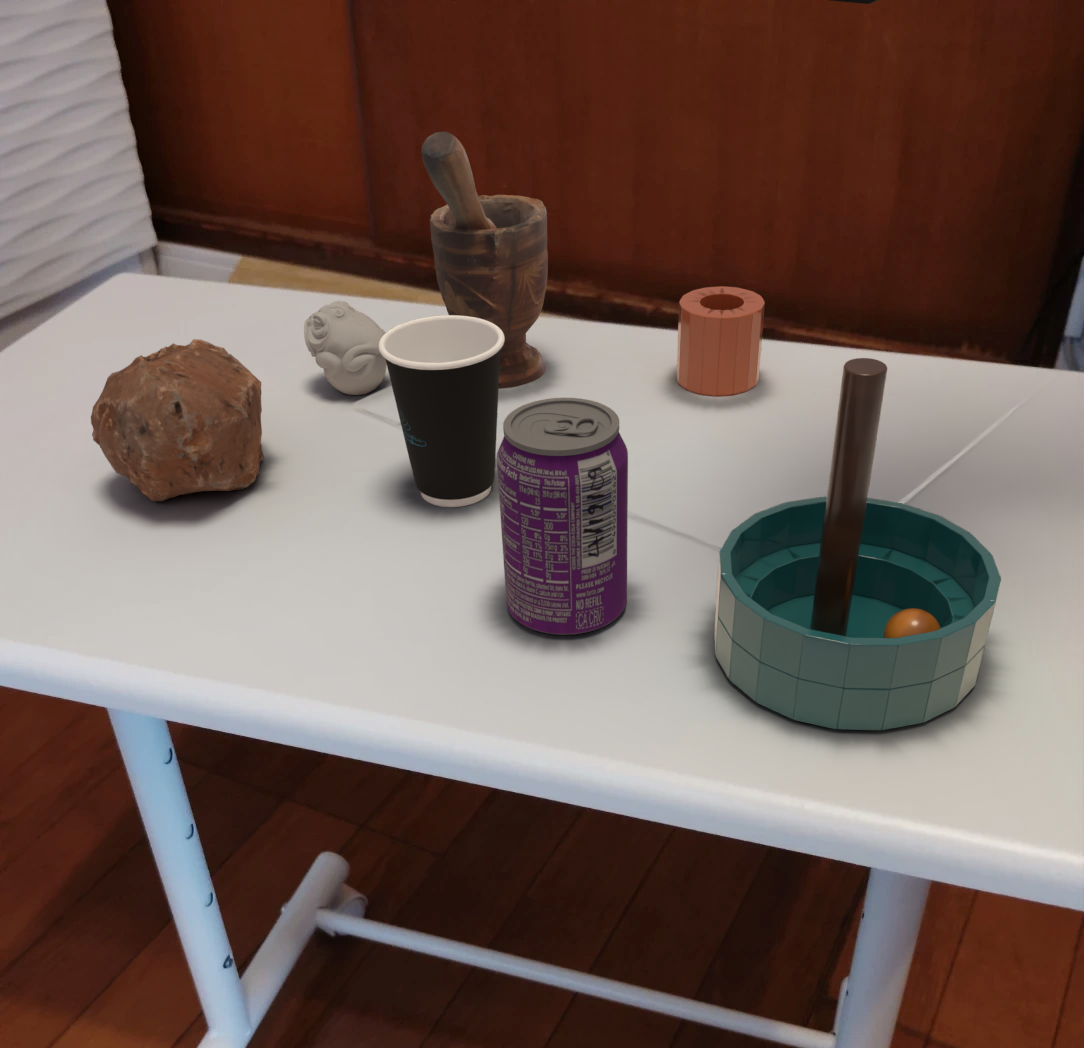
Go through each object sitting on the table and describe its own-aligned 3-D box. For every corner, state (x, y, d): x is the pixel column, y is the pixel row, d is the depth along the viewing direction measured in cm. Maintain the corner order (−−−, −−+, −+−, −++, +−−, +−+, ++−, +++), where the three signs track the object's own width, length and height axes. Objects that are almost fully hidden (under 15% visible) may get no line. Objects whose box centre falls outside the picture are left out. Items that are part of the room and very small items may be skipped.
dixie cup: (375, 506, 81) (352, 350, 73) (441, 457, 86) (425, 306, 79) (473, 534, 77) (459, 373, 70) (535, 481, 82) (528, 326, 75)
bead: (909, 591, 64) (958, 614, 63) (897, 636, 66) (945, 660, 64) (878, 611, 62) (928, 635, 61) (867, 657, 64) (915, 682, 63)
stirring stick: (817, 626, 67) (853, 354, 57) (850, 637, 66) (894, 362, 56) (802, 645, 66) (837, 369, 55) (836, 656, 65) (877, 378, 55)
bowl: (800, 559, 74) (810, 472, 70) (1021, 642, 66) (1046, 550, 62) (663, 669, 66) (666, 577, 62) (896, 778, 58) (916, 682, 54)
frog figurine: (339, 370, 98) (326, 286, 94) (412, 382, 96) (402, 296, 91) (298, 401, 94) (282, 314, 89) (374, 414, 92) (361, 326, 87)
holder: (706, 367, 96) (711, 280, 91) (772, 386, 92) (780, 297, 88) (660, 394, 92) (663, 305, 88) (727, 415, 89) (733, 324, 84)
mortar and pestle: (549, 421, 89) (537, 135, 77) (435, 423, 90) (405, 139, 77) (554, 358, 98) (545, 92, 85) (451, 360, 99) (426, 96, 86)
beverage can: (633, 580, 72) (635, 396, 65) (618, 649, 67) (619, 457, 59) (519, 573, 74) (508, 391, 66) (496, 640, 68) (481, 450, 60)
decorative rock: (234, 536, 78) (200, 394, 72) (80, 524, 80) (33, 385, 74) (304, 444, 88) (279, 311, 82) (164, 436, 90) (130, 306, 84)
